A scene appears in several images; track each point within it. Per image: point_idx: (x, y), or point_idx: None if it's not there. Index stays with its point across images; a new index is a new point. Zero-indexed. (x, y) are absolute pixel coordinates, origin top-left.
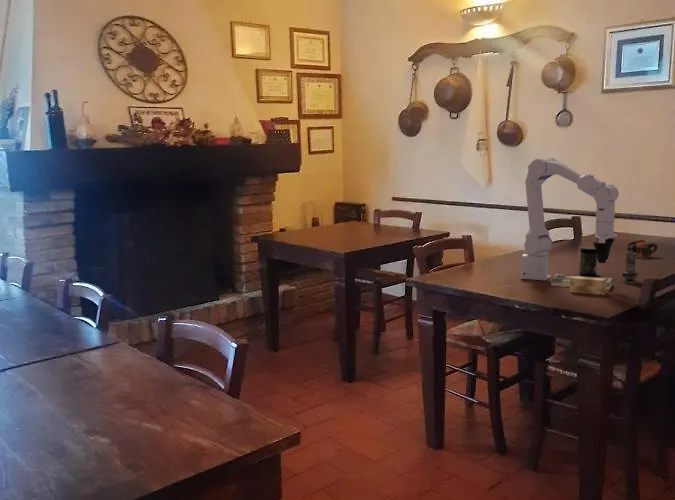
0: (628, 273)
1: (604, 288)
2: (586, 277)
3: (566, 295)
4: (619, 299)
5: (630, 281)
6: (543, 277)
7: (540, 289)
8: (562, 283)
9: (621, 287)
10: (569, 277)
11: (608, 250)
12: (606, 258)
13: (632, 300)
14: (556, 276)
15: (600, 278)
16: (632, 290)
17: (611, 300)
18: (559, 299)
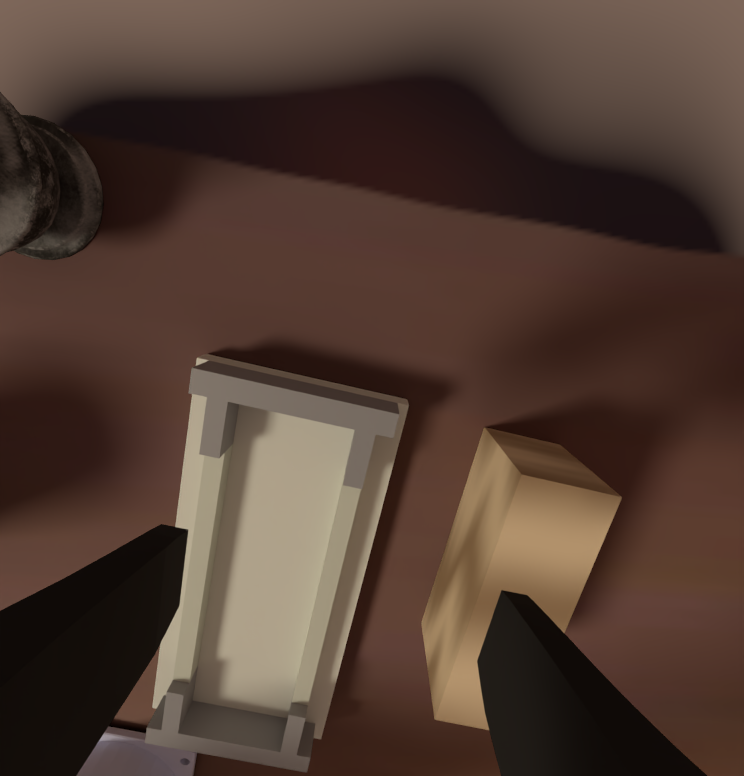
0: (35, 194)
1: (582, 466)
2: (488, 627)
3: (588, 658)
4: (699, 359)
5: (70, 186)
6: (162, 770)
7: (440, 770)
8: (329, 683)
9: (283, 291)
10: (193, 656)
11: (81, 642)
12: (535, 634)
13: (733, 268)
14: (244, 745)
15: (522, 525)
16: (381, 216)
17: (728, 417)
18: (694, 696)
